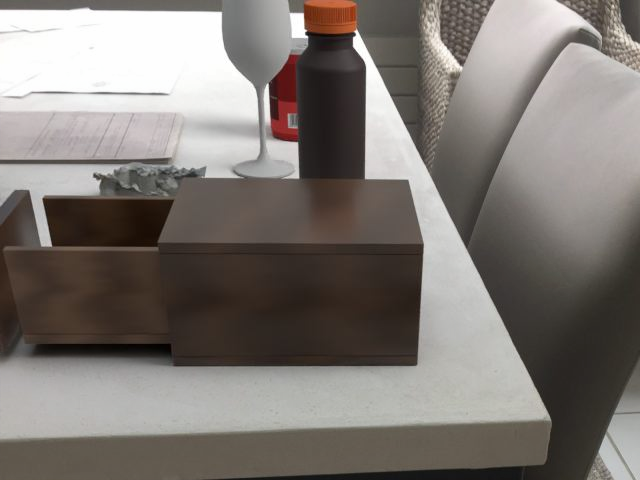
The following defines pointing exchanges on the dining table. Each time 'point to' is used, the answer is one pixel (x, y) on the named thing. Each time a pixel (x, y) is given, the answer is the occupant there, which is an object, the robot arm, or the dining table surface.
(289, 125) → the canned food
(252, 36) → the wineglass
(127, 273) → the drawer
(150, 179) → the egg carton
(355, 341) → the cabinet
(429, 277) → the dining table surface
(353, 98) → the bottle
